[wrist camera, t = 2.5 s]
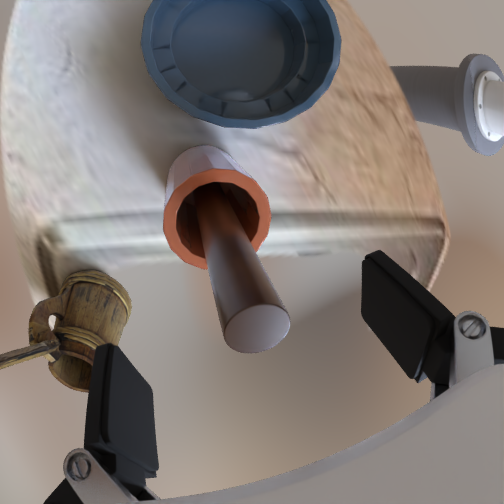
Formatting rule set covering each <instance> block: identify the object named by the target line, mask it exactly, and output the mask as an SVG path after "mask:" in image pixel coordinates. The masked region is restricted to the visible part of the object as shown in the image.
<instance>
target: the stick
mask: <svg viewBox="0 0 504 504" xmlns="http://www.w3.org/2000/svg"><path fill="white" fill-rule="evenodd" d="M193 197H194V202H195V207H196V212H197V218H198V223H199V228H200V233H201V238H202V243H203V248H204V252H205V257H206V262H207V267H208V271H209V276H210V280H211V285H212V289H213V294H214V298H215V302H216V307H217V311H218V315H219V320H220V324H221V328H222V332H223V336H224V339H225V342H226V343H227V345H228V346H229V347H231V348H232V349H233V350H236V351H238V352H241V353H258V352H262V351H265V350H268V349H270V348H272V347H274V346H275V345H277V344H278V343H279V342H280V341H281V340H282V339H283V338H284V337H285V336H286V334H287V333H288V330H289V328H290V317H289V314H288V312H287V311H286V309H285V307H284V305H283V303H282V301H281V299H280V297H279V295H278V293H277V292H276V290H275V288H274V286H273V284H272V282H271V280H270V278H269V276H268V274H267V273H266V271H265V269H264V267H263V265H262V263H261V261H260V259H259V257H258V256H257V254H256V252H255V250H254V248H253V246H252V244H251V242H250V240H249V239H248V237H247V235H246V233H245V231H244V229H243V227H242V225H241V224H240V222H239V220H238V218H237V216H236V214H235V212H234V210H233V208H232V207H231V205H230V203H229V201H228V199H227V197H226V195H225V193H224V192H223V190H222V188H221V186H220V184H219V182H215V181H214V182H211V183H208V184H205V185H202V186H199V187H197V188H196V189H195V190H193Z"/></svg>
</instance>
